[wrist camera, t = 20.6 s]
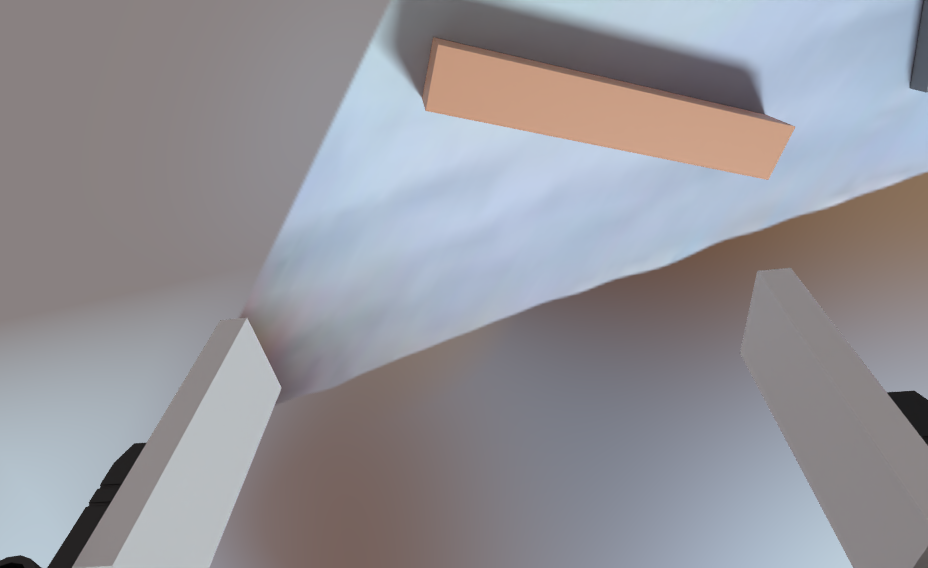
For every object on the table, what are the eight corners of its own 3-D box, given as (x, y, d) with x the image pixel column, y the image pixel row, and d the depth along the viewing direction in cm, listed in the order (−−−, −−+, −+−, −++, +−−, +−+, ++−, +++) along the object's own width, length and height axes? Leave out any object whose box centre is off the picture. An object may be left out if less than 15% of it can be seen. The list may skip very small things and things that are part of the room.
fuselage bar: (421, 97, 39) (425, 110, 35) (432, 36, 37) (438, 44, 33) (738, 162, 44) (768, 179, 41) (762, 113, 42) (795, 126, 39)
